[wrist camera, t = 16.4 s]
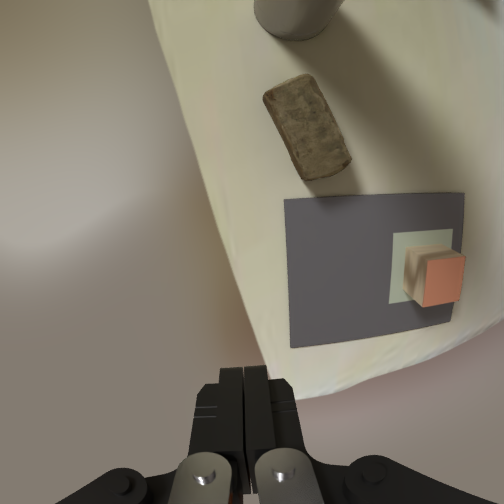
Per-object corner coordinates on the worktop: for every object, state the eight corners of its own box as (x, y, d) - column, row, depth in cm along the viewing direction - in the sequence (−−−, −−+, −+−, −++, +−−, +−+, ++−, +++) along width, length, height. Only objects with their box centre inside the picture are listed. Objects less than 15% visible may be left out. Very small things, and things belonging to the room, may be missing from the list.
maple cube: (465, 256, 33) (441, 243, 39) (428, 261, 33) (405, 246, 39) (459, 300, 35) (436, 283, 41) (422, 307, 35) (402, 289, 41)
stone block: (302, 78, 34) (311, 68, 29) (344, 164, 37) (359, 166, 32) (257, 98, 34) (260, 89, 29) (302, 185, 37) (311, 189, 32)
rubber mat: (283, 199, 37) (284, 199, 37) (463, 192, 38) (464, 193, 37) (290, 346, 43) (290, 348, 43) (449, 320, 43) (450, 321, 43)
